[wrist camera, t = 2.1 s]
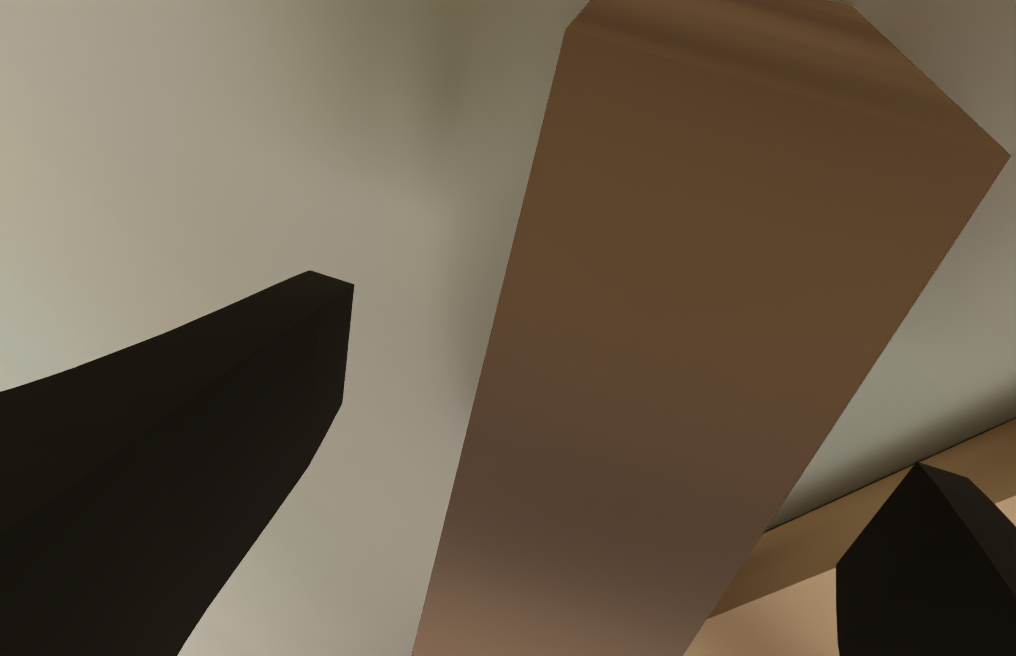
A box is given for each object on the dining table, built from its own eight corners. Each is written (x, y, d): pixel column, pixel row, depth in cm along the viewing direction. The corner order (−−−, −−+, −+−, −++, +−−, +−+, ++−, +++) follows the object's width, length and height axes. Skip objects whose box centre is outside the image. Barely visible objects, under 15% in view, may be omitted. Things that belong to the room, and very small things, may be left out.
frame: (625, 499, 15) (588, 799, 10) (490, 454, 15) (390, 729, 10) (852, 6, 9) (1010, 155, 5) (632, -54, 10) (558, 28, 5)
